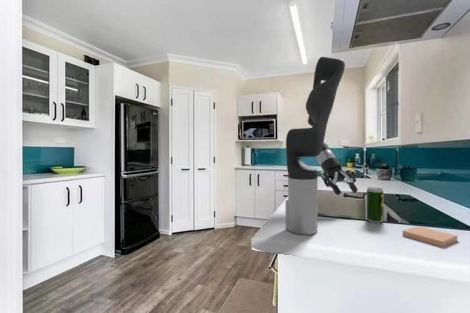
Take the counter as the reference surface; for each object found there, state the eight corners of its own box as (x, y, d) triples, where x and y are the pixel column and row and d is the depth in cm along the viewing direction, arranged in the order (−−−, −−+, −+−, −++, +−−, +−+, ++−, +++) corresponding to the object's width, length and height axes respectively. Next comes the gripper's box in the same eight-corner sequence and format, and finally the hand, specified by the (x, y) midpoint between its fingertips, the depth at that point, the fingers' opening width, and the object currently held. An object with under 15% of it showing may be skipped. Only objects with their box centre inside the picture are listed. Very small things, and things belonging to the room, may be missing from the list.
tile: (402, 230, 75) (442, 241, 66) (417, 226, 79) (457, 235, 70) (402, 237, 75) (442, 248, 66) (417, 232, 79) (457, 242, 70)
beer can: (367, 222, 88) (367, 189, 88) (365, 218, 93) (366, 186, 93) (384, 223, 86) (384, 189, 86) (381, 219, 91) (382, 187, 91)
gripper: (319, 157, 104) (338, 189, 94) (345, 155, 109) (366, 186, 99) (311, 168, 109) (328, 199, 100) (336, 166, 114) (356, 196, 104)
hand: (347, 193), depth 99 cm, fingers open, 8 cm apart
